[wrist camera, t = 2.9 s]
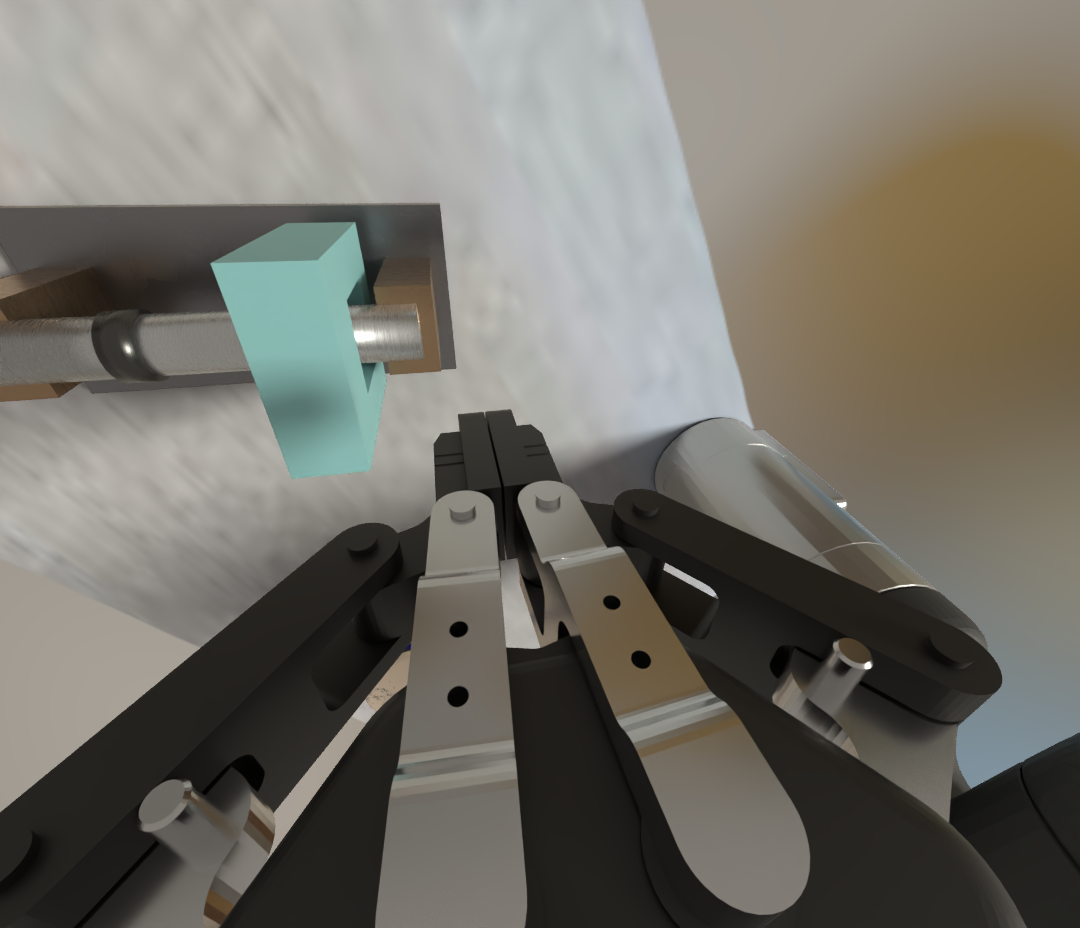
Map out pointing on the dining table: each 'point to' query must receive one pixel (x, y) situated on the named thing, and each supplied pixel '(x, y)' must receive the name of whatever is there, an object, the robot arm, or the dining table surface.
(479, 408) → the dining table surface
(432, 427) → the dining table surface
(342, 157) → the dining table surface
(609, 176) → the dining table surface
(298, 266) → the collar
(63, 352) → the pipe rig
